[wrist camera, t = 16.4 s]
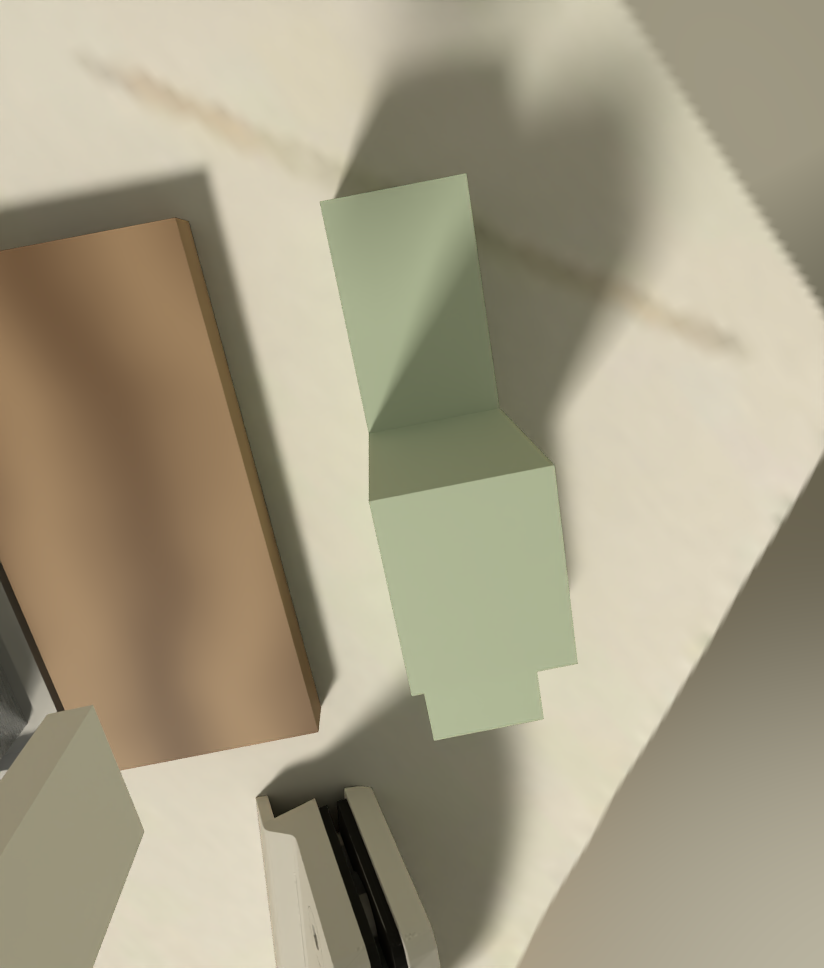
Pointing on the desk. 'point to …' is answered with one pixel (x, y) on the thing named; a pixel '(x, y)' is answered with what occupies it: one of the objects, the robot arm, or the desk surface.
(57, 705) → the tray
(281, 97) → the desk surface
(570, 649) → the stepped sage beam
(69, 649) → the deck
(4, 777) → the robot arm
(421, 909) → the white curved block
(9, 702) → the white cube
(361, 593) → the desk surface
